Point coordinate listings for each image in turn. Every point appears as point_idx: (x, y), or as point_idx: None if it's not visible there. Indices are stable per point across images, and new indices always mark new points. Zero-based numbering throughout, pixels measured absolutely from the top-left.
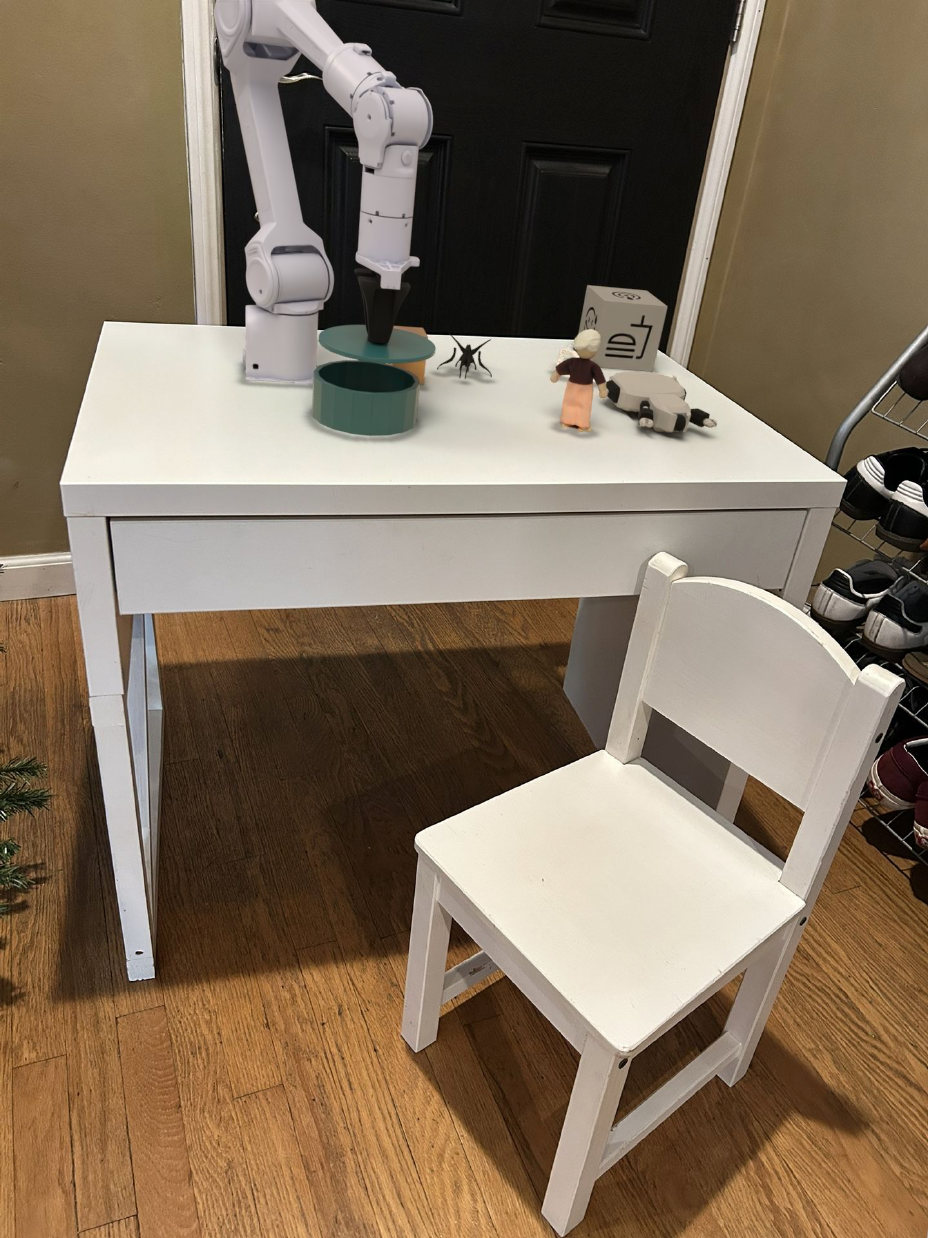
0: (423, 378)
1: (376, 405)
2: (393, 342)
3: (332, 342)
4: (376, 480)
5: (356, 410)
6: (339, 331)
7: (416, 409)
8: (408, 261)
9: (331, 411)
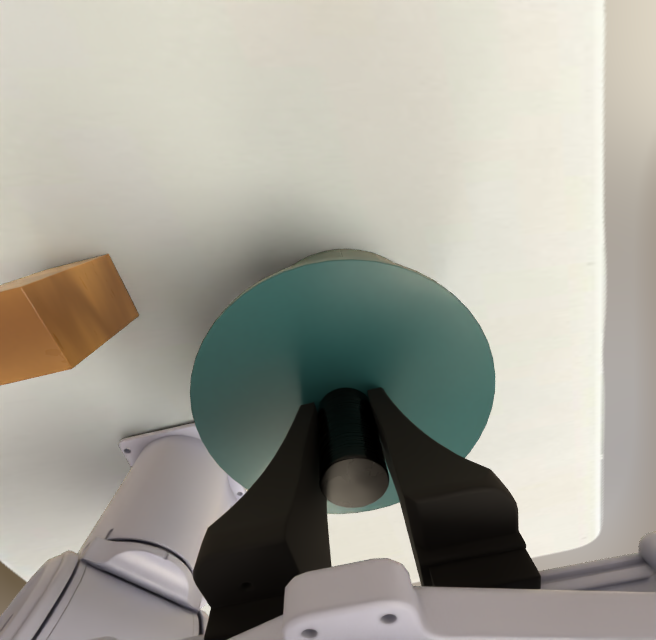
0: (95, 260)
1: None
2: (339, 374)
3: None
4: (588, 284)
5: None
6: None
7: (355, 256)
8: (481, 638)
9: None
